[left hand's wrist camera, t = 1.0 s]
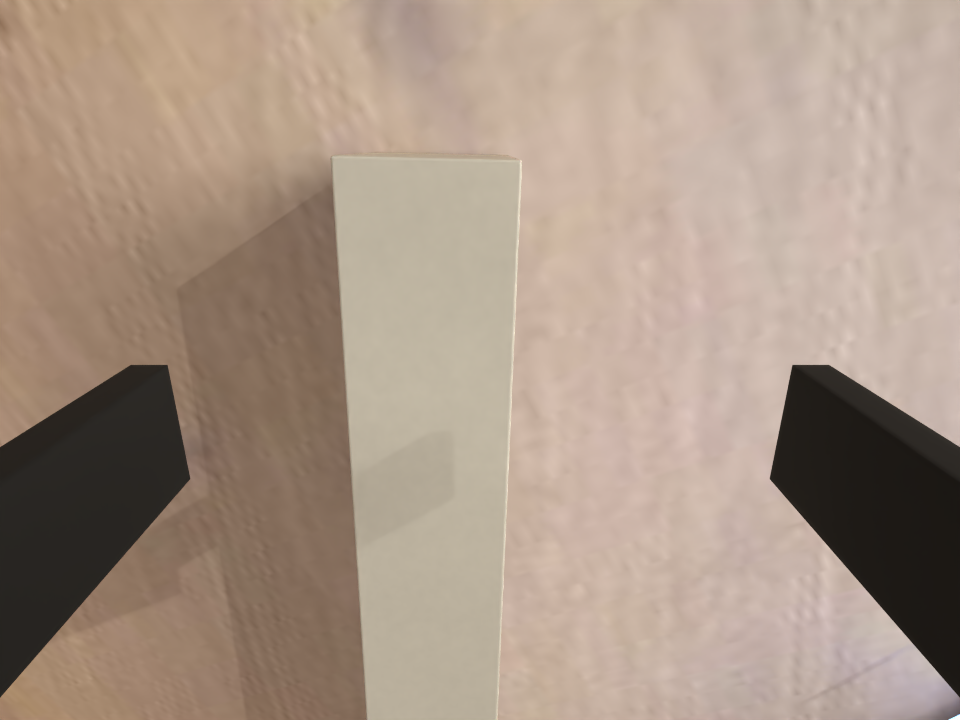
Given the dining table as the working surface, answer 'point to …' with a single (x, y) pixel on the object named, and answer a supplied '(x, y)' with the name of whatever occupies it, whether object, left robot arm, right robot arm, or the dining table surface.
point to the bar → (428, 419)
